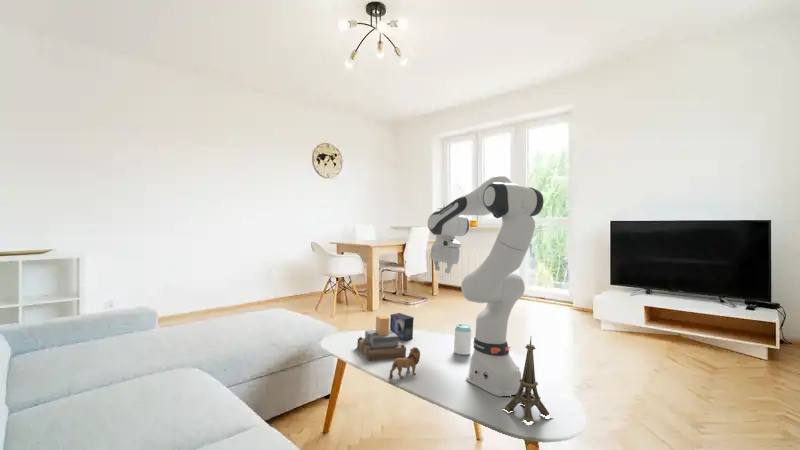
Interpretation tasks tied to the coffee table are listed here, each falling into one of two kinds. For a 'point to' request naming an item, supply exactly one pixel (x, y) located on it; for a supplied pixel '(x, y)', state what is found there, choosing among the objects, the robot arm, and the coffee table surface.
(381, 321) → the orange brick
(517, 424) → the coffee table surface
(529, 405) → the eiffel tower
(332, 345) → the coffee table surface
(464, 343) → the can
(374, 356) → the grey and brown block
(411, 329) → the small box
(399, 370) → the lion figurine
